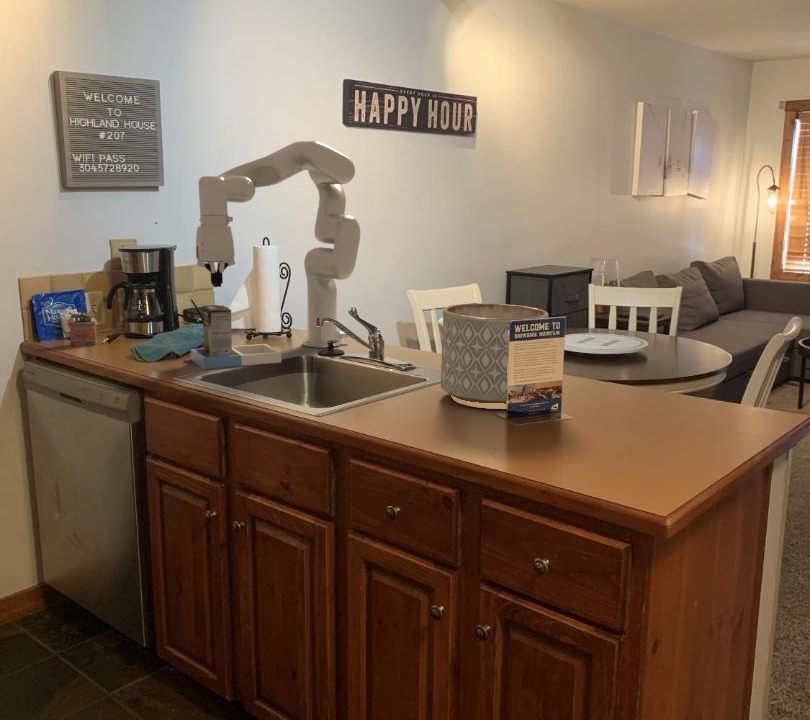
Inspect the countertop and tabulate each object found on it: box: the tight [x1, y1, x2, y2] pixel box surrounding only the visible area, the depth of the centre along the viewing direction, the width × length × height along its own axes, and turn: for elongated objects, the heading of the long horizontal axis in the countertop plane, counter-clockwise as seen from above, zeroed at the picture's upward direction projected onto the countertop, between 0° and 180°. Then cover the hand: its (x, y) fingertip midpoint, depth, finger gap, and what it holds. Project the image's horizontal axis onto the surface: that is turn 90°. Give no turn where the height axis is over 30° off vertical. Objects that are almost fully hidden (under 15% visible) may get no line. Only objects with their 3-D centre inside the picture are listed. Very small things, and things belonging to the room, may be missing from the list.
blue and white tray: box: [190, 343, 282, 370], centre depth 234 cm, size 23×14×4 cm, turn 119°
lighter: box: [68, 312, 98, 347], centre depth 250 cm, size 8×3×10 cm, turn 94°
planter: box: [440, 303, 549, 404], centre depth 196 cm, size 26×26×22 cm
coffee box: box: [202, 305, 233, 358], centre depth 230 cm, size 9×6×16 cm
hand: (217, 286), depth 227 cm, fingers closed
